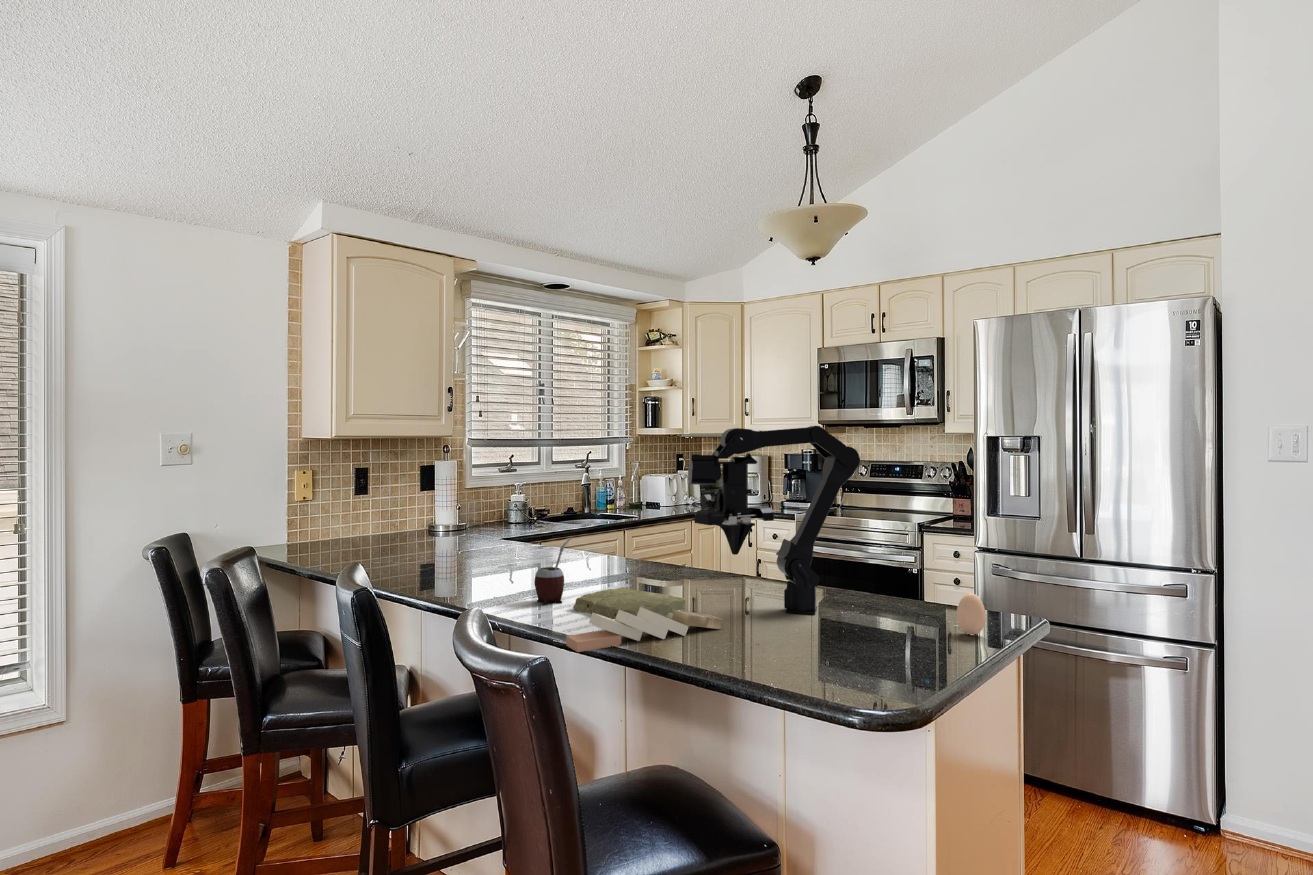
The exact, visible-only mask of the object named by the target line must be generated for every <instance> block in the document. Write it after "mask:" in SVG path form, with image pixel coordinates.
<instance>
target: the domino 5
mask: <svg viewBox="0 0 1313 875" xmlns="http://www.w3.org/2000/svg"><path fill="white" fill-rule="evenodd" d="M671 619H672V620H674V621H676V622H679V623H681V624H684V625H686V626H691V627H700V628H707V629H714V630H715V629H716V630H722V628H723V623H724V622H723V621H724V618H722V617H721V618H720V617H717V616H714V615H711V614H708V613H699V612H694V611H693V612H692V611H686V610H680V611H678V610H674V612H673V613H672V618H671Z"/></svg>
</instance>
